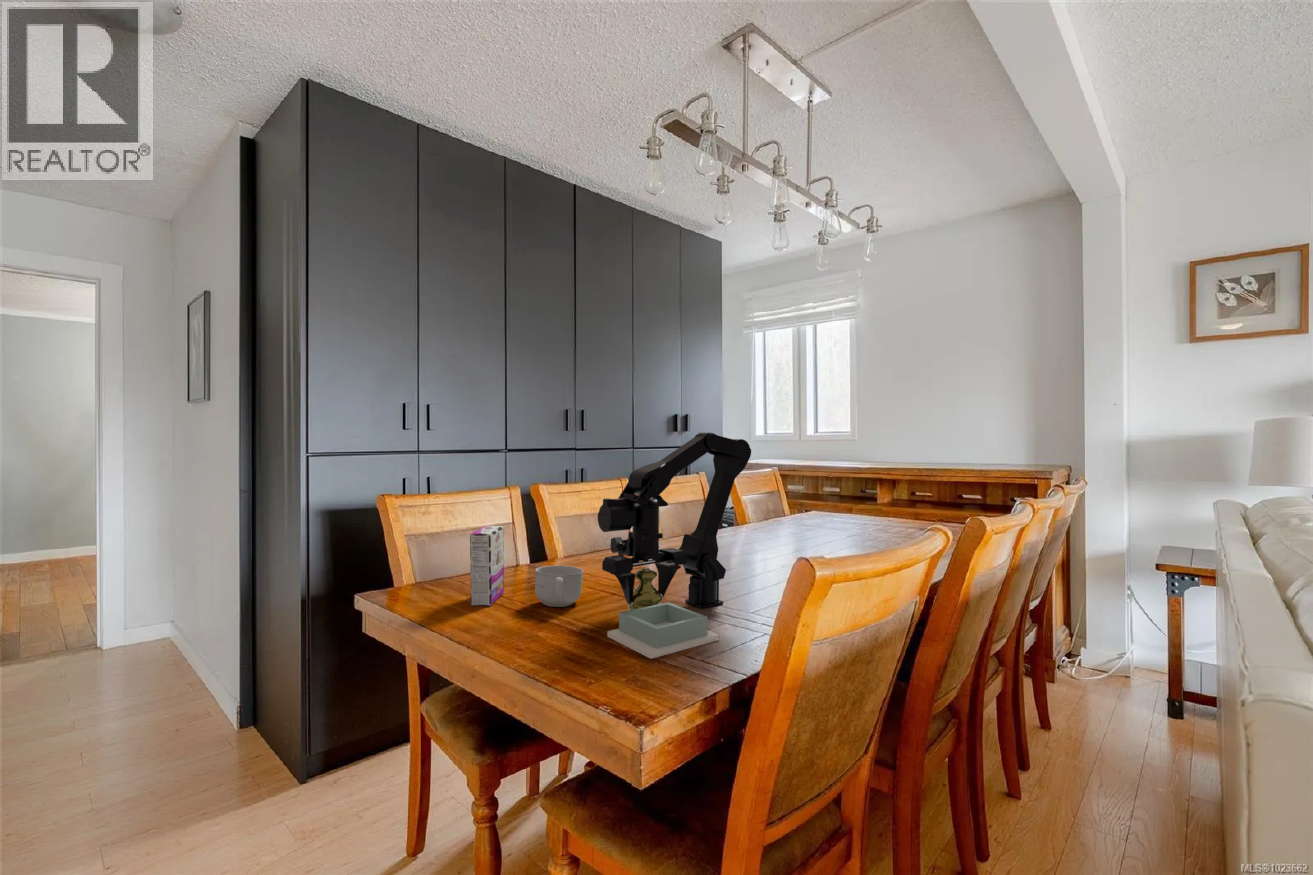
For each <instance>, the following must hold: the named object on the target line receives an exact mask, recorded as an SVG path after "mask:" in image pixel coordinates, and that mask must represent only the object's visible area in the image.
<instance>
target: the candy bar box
mask: <svg viewBox="0 0 1313 875" xmlns="http://www.w3.org/2000/svg"><path fill="white" fill-rule="evenodd" d="M469 543H470V544H469V547H470V548H469V555H470V556H469V558H470V559H469V560H470V564H469V565H470V606H473V607H491V606H492V605H493V604H495V602H496V601H497V600H498V599H499V598H500V597H501V596H502V595H503V594H504V593H505V581H504V580H505V576H504V573H505V572H504V571H505V569H504V567H505V565H504V564H505V563H504V562H505V561H504V526H503V525H485V526H482V527H481V528H479V529H477V530H475V531H474V532H472V533H470V534H469Z"/></svg>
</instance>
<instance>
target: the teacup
mask: <svg viewBox="0 0 1313 875" xmlns="http://www.w3.org/2000/svg"><path fill="white" fill-rule="evenodd" d="M534 572H535V581H534V582H535V583H534V590H535V593H534V594H535V596H536V598H537V599H538V600H539V601H541V602H540V603H542V604H543V605H544V606H546V607H551V608H552V607H553V608H565V607H569V606H572V605H573V604H574V602H576V601H577V600H578V599H579V598H580V597H581V594H582V588H583V578H584V577H583V575H584V570H583V569H582V568H580V567H577V566H572V565H571V566H570V565H559V564H557V565H552V564H551V565H544V566H540V567H536V568H535V570H534Z"/></svg>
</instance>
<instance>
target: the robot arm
mask: <svg viewBox="0 0 1313 875" xmlns="http://www.w3.org/2000/svg"><path fill="white" fill-rule="evenodd" d="M707 454H709V455H712V456H713V459H712V462H713V468H714V474H713V478H712V481H711V484H710V486H709V489H708V492H707V495H706V498H705V501H704V504H703V506H702V507H703V508H702V510H701V513H700V516H699V518H698V519H699V520H698V522H697V525H696V528H695V530H694V531H693V532H692V533H691V534H687V533H685V534H684V535H683V537H682V542H681V545H680V547H679V548H676V547H666V548H660V539H663V538H664V537H663V535H664V534H663V533H662V532H660V507H667V506H668V505H669V503H668V502H667V501H666V500H665V499H664V498H663V497H662V495H661V494H662V493H663V492H664V491H665V490H666V489H667V488H668V487H669V486H670V484H671V482H672V480H673V478H674V477H676V476H677V475H678V474H679V473H680V472H682V471H684V470H685V469H687V467H689V466H690V465H692V464H694V463H695V462H696V461H698V460H699V459H701V457H703V456H704V455H707ZM751 456H752V449H751V446H750V444H749V442H748V441H746V439H742V438H728V437H725V436H721V435H718V434H716V433H714V432H698V433H697V434H695V436H694V437H693V438H691V439H689V440H688V441H686V442H685V443H683V444H682V445H681V446H679V447H678V448H676V449H675V450H674V451H672V452H670V453H669V454H668V455H667V456H665V457H663V458H661V459H660V460H658V461H656V462H652V463H649V464H645V465H643V466H641V467H638V468H637V469H634V470H633V471H632V472H631V473H630V474H629V476H628V477H629V478H628V482H627V483H626V485H625V486H624V488H623V490H622V491H621V493H620V495H619V496H618V498H606V497H605V498H603V499H602V505H601V506H600V507H599V510H598V513H597V524H598V527H599V529H600V530H601V531H602V533H609V532H620V531H628V534H627V535H628V537H627V539H622V536H621V537H620V536H616V537H612V538H610V551H611V553H612V554H616V553H617V555H611V556H609V555H608V556H605V557H604V559H603V560H602V563H601V565H602V569H601V570H602V571H604V572H606V573H609V574H610V575H613V576H615V577H616V578H617V580H618V582H619V585H620V587H621V589H622V592H623V596H624V599H625V602H626V604H627V605H628V604H631V603H632V599H633V591H634V590H635V580H636V577H635V574H634V573H635V572H632V570H633V569H634V568H635V567H641V566H647V565H654V564H655V566H656V569H657V577H658V578H657V579H658V580H657V590H658V591H659V592H661V593H662V595H663V598H664V597H665V594H666V592H667V590H668V588H669V585H670V584H671V582H672V580H673V578H674V576H675V575H676V573H677V571H678V570H680V569H681V567H683V570H684V573H685V574H686V575H690V576H689V583H688V598H686V599H684V600H685V603H688V604H691V605H693V606H696V607H699V608H701V609H705V608H709V607H715V606H718V605H719V606H720V605H723V604H724V600H720V599H719V598H720V595H719V594H720V585H719V584H720V580H724V578H725V576H726V572H727V569H726V568H725V567H724V565H722V563H721V562H720V560H718V559H717V558H718V553H719V545H718V539H717V535H718V532H719V529H720V526H721V523H722V520H723V517H724V514H725V510H726V508H727V505H728V502H729V498H730V495H731V492H732V490H733V486H734V483H735V480H736V478H737V477H738V476H739V475H740V474H741V473H742V472H743V471H744V470H745V469H746V467H747V464H748V462H749V461H750V459H751ZM631 529H632V531H629V530H631Z"/></svg>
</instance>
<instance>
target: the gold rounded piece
mask: <svg viewBox="0 0 1313 875" xmlns="http://www.w3.org/2000/svg"><path fill="white" fill-rule="evenodd" d="M633 573H634V574H635V579H636V580H638V585H637V586H635V587H634V591H633V599H632V603H631V604H627V609H628V610H627V611H629V610H634V609H638V608H643V607H648V606H653V605H658V604H662V601H663V598H664V597H663V595H662V593H661V592H659V591H658V589H657V588H656V587H655V586H654V585H653V580H654V579H655V578H656V577H658V572H656V571H655V570H653V569H650V568H649V567H641V568H640V569H638V570H636V571H635V572H633Z"/></svg>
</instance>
